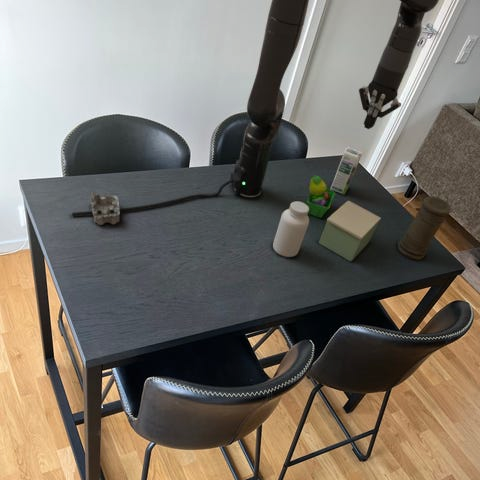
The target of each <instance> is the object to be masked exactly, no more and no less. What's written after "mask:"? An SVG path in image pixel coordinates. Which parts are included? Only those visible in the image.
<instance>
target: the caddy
mask: <svg viewBox="0 0 480 480" xmlns="http://www.w3.org/2000/svg"><path fill="white" fill-rule="evenodd" d="M379 224H380V221H379V222H378V223H377V224H376V225H375V226H374V227H373V228H372V229H371V230H370V231H369V232H368V233H367V234H366V235H365V236H364V237H363V238H362V239H359V238H357V237H355V236H353V235H352V234H350V233H348V232H346V231H345V230H343V229H341V228H339V227H337V226H336V225H334V224H332V223H330V222H328V221H327V220H326V224H325V226H324V228H323V231H322V233H321V236H320V239H319V241H318V244H320V245H321V246H323V247H324V248H327V249H328V250H330V251H332V252H333V253H335V254H337V255H338V256H340V257H342V258H344V259H345V260H347V261H349V262H352V261H353V260H354V259H355V258H356V257H357V256H358V255H359V254H360V253H361V252H362V250H363V249H364V248H365V247H366V246H367V245H368V244H369V243H370V241H371V239H372V237H373V235H374V234H375V231H376V229H377V227H378V225H379Z"/></svg>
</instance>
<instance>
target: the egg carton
mask: <svg viewBox="0 0 480 480" xmlns="http://www.w3.org/2000/svg"><path fill="white" fill-rule="evenodd" d="M90 195H91V201H90V203H91V211H92V212H93V214H92V216H93V222H94V223H95V224H98V225H99V226H101V225H102V226H103V225H104V224H105V223H109V224H111V225H116V224H117V223H120V214H121V212H120V209H121V208H120V203H119V197H118V196H116V195H111V194H110V195H107V194H105V195H104V196H100V194H99V193H94V192H91V194H90ZM111 209H114V212H113V213H110V210H111ZM99 210H102V214H98V211H99Z"/></svg>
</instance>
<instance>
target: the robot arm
mask: <svg viewBox="0 0 480 480" xmlns="http://www.w3.org/2000/svg"><path fill="white" fill-rule="evenodd" d="M439 1H440V0H399V2H400V5H399V7H398V11H397V16H396V19H395V24H394V25H393V28H392V30H391V33H390V36H389V38H388V41H387V43H386V45H385V47H384V49H383V51H382V53H381V56H380V58H379V61H378V64H377V66H376V69H375V72H374V75H373V77H372V80H371V81H370V82H369V83H368V85H367V86H365V85H364V86H362V87H360V88H358V94H359V99H360V102H361V106H362V110H363V111H365V112H366V116H365V119H364V121H363V125H364V128H365V129H366V130H370V129H372V128H373V127H374V126H375V125H376V122H377V119H378V118H380V119H383V118H384V117H385V116H387V115H389V114H391V113H392V112H394V111H396V110H398V109H399V108H400V107H402V103H401V102H399V100H398V95H399V94H398V90H399V88H400V86H401V84H402V81H403V79H404V77H405V74H406V72H407V70H408V68H409V65H410V63H411V59H412V56H413V53H414V50H415V49H416V46H417V44H418V42H419V39H420V36H421V34H422V30H423V29H422V23H423V19H424V17H425V14H426V13H429V12H430V11H432V10H434V9H435V8H436V6H437V5H438V3H439ZM309 3H310V0H271V3H270V6H269V7H270V8H269V11H268V15H267V19H266V20H267V21H266V24H265V29H264V34H263V40H262V45H261V50H260V55H259V60H258V67H257V71H256V74H255V78H254V81H253V84H252V87H251V90H250V93H249V97H248V99H247V104H246V114H247V116H248V117H247V118H249V123H248V125H247V127H246V128H245V130H244V133H243V139H242V144H241V148H240V154H239V157H238V159H236V161H235V166H234V170H233V172H230V176H229V177H230V178H229V180H228V181H225V182H224V183H223V184H221V186H220V187H219V188H218V190H217V191H216V192H215V193H212V194H203V193H198V194H192V195H187V196H183V197H180V198H175V199H171V200H170V199H169V200H167V201H162V202H161V201H160V202H157V203H151V204H146V205H140V206H139V205H138V206H132V207H123V208H119V209H120V213H123V212H128V211H129V212H130V211H139V210H145V209H150V208H151V209H152V208H155V207H160V206H166V205H170V204H175V203H179V202H183V201H186V200H190V199H195V198H214V197H217V196H219V195H220V194H221V193H222V190H223V189H224V188H225V187H227V186H228V185H229V184H231V188H232V191H233V192H234V193H235V195H236V196H237V197H242V198H245V199H257V198H258V197H260V196H261V193H262V190H263V184H264V181H265V177H266V172H267V169H268V165H269V161H270V157H271V153H272V149H273V146H274V142H275V140H276V138H277V135H278V133H279V130H280V127H281V123H282V120H283V116H284V113H285V108H286V98H285V95H284V92H283V91H282V90H281V85H282V82H283V79H284V75H285V73H286V72H287V70H288V68H289V65H290V63H291V61H292V59H293V57H294V55H295V53H296V50H297V49H298V45H299V42H300V39H301V36H302V32H303V28H304V25H305V20H306V16H307V12H308V7H309ZM368 94H369V95H368ZM369 99H370V100H369ZM389 103H390V104H389ZM388 104H389V105H390V107H388V108H387V109H385V110H383V109H384V107H385V106H386V105H388ZM382 110H383V111H382ZM113 212H114V209H111V210H110V213H113ZM98 214H102V210H99V211H98ZM71 215H72V216H73V217H77V216H89V215H93V212H92V210H89V211H88V210H87V211H77V212H72V213H71Z"/></svg>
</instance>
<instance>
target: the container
mask: <svg viewBox="0 0 480 480" xmlns="http://www.w3.org/2000/svg"><path fill="white" fill-rule="evenodd" d="M451 211H452V207H451V205H450V204H449V203H448V201H446V200H445V199H442V198H440V197H438V196H433V195H429V196H426V197H425V198H424V199H423V201H422V204H421V206H420V208H419V209H418V210H417V213H416V214H415V216H414V218H413V220H412V222H411V224H410V225H409V228H408V229H407V230H406V231H405V233H404V235H403V236H402V237H401V238H400V240H399V241H398V242H397V249H398V251H399V252H400V253H401V254H402V255H403V256H405V257H406V258H408V259H412V260H415V261H418V260H422V259H423V258H424V257H425V256H426V253H427V252H428V248H429V246H430V245H431V242H432V240H433V238H434V237H435V235H436V234H437V232H438V231H439V230H440V227H441V226H442V224H443V223H444V221H445V218H447V217H448V215H449V214H450V213H451Z"/></svg>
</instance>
